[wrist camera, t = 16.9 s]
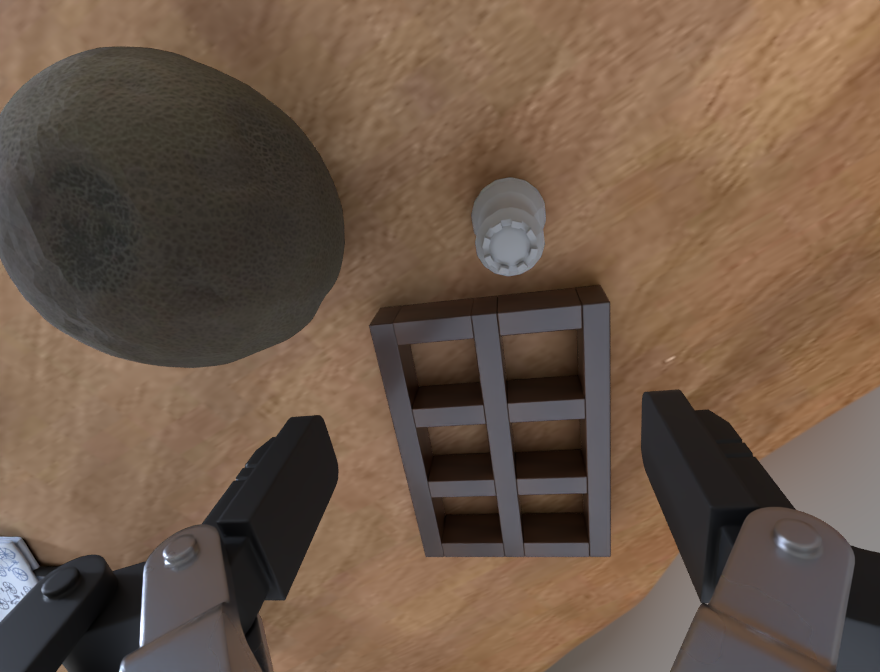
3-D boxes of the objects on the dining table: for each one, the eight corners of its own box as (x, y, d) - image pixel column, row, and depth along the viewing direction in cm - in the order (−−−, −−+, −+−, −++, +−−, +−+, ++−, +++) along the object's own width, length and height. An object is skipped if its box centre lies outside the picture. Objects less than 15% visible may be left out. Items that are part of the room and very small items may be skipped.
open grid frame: (430, 528, 41) (425, 557, 38) (380, 307, 32) (368, 325, 29) (603, 526, 38) (610, 557, 35) (600, 284, 29) (610, 301, 26)
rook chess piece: (531, 163, 26) (542, 181, 19) (554, 235, 28) (572, 275, 21) (461, 193, 28) (446, 220, 21) (486, 260, 29) (481, 306, 22)
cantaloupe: (414, 149, 27) (324, 181, 14) (329, 333, 33) (211, 480, 20) (192, 21, 25) (-154, -84, 12) (147, 239, 32) (-114, 329, 18)
